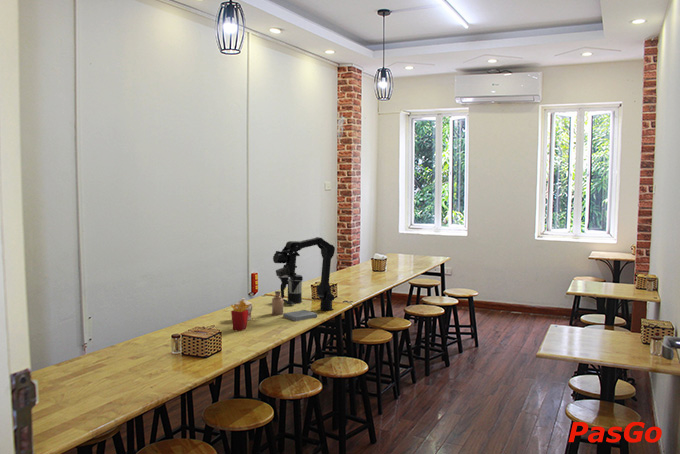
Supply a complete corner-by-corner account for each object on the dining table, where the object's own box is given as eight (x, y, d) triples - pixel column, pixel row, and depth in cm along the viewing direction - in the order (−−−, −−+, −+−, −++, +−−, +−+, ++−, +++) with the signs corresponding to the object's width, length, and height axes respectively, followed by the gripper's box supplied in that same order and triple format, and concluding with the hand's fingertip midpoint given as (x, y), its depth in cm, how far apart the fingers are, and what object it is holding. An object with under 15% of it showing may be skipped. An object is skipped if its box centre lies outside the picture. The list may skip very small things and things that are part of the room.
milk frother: (300, 300, 355) (300, 277, 354) (306, 305, 340) (306, 281, 339) (278, 301, 350) (278, 278, 349) (284, 306, 335) (284, 282, 334)
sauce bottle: (279, 312, 321) (279, 290, 320) (285, 314, 316) (285, 291, 315) (269, 313, 317) (270, 291, 316) (276, 315, 312) (276, 293, 311)
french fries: (230, 330, 280) (230, 301, 279) (239, 326, 288) (239, 298, 287) (245, 332, 277) (245, 302, 276) (253, 328, 285) (253, 299, 283)
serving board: (304, 313, 319) (304, 309, 319) (317, 317, 310) (317, 313, 310) (283, 316, 310) (283, 313, 309) (295, 321, 300) (295, 317, 300)
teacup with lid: (244, 322, 296) (244, 301, 296) (231, 319, 301) (231, 299, 300) (258, 317, 307) (258, 297, 306) (245, 315, 311) (245, 295, 310)
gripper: (270, 261, 313) (267, 288, 313) (287, 265, 298) (284, 293, 298) (286, 261, 320) (284, 288, 320) (304, 265, 305) (301, 293, 305)
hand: (288, 290), depth 311 cm, fingers open, 9 cm apart
